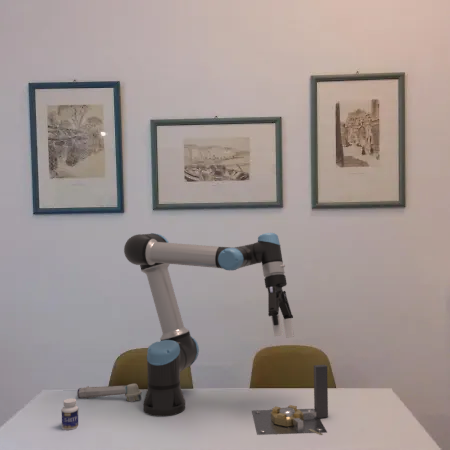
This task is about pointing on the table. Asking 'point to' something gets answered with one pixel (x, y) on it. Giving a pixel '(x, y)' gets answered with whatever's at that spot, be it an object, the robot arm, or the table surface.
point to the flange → (268, 427)
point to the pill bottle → (69, 414)
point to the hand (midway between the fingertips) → (284, 336)
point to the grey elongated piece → (111, 392)
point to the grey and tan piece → (319, 401)
